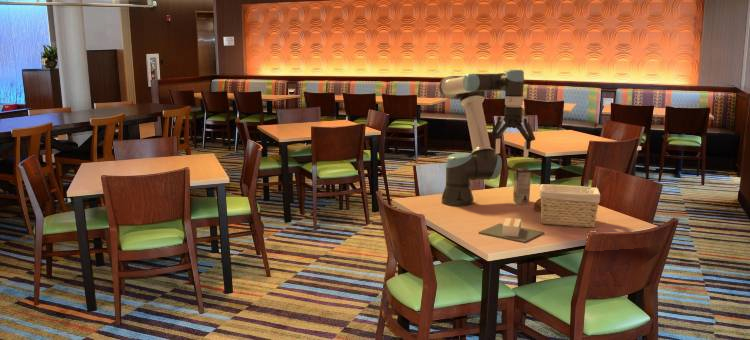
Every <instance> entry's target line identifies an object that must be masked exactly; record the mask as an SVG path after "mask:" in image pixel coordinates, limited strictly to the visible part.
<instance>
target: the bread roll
mask: <svg viewBox="0 0 750 340" xmlns="http://www.w3.org/2000/svg"><path fill="white" fill-rule="evenodd" d="M533 209H534V210H535V212H539V213H541V197H539V198H538V199H537V200H535V202H534V203H533Z"/></svg>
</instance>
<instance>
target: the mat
mask: <svg viewBox="0 0 750 340" xmlns="http://www.w3.org/2000/svg"><path fill="white" fill-rule="evenodd" d="M503 224H504V223H501V222H499V223H498V224H494V225H492V226H489V227H488V228H485V229H483V230H481V231H478V234H479V235H484V236H489V237H495V238H499V239H505V240H509V241H513V242H519V243H522V244H526V243H528V242H529V241H531V240H534V239H536V238H539V237H540V236H542V235H545V231H541V230H536V229H531V228H527V227H521V229H520V232H519V235H518V237H515V236H503V235H502V232H503Z"/></svg>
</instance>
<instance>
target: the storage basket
mask: <svg viewBox="0 0 750 340" xmlns="http://www.w3.org/2000/svg"><path fill="white" fill-rule="evenodd" d="M539 196H540V197H539V198H541V212H540V223H541V224H543V225H553V226H554V225H556V226H569V227H573V228H574V227H575V228H577V227H579V228H580V227H583V228H595V226H596V225H595V224H596V219H597V213H598V208H599V203H600V202H601V193H600V191H599V188H598V187H591V186H581V185H565V184H549V183H548V184H546V183H545V184H543V183H542V184H540V187H539Z"/></svg>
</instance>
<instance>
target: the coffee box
mask: <svg viewBox="0 0 750 340" xmlns="http://www.w3.org/2000/svg"><path fill="white" fill-rule="evenodd" d="M531 174H532V172H531V170H530V169H529V168H528V167H514V170H513V191H512V193H513V197H512V200H513V202H514V203H515V205H518V206H519V205H520V206H521V205H524V206H525V205H526V206H527V205H530V193H531V191H530V190H531V177H532V176H531Z"/></svg>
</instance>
